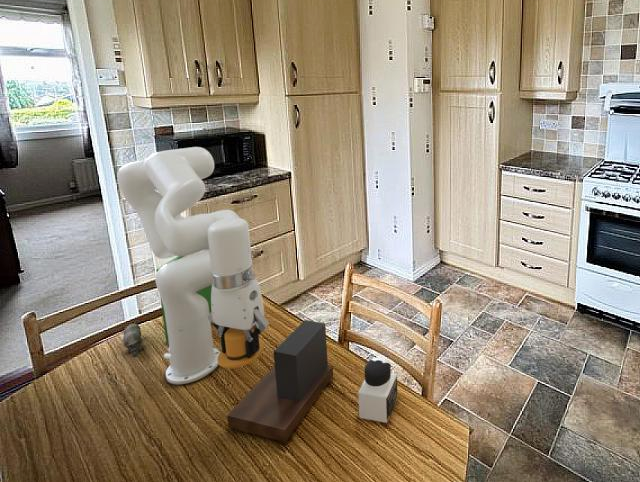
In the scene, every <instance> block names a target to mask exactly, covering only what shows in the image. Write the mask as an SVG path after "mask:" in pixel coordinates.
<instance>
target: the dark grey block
mask: <svg viewBox="0 0 640 482" xmlns="http://www.w3.org/2000/svg"><path fill="white" fill-rule="evenodd" d="M327 345H328V344H327V331H326V323H324V322H319V321H314V320H307V319H304V320H303V321H302V322H301V323H300V324H299V325H298V326H297V327H296V328H295V329H294V330H293V331H292V332H291V333H290V334H289V335H288V336H287V337H286V338H285V339H284V340H283V341H282V342H281V343H280V344H279V345H278V346H277V347H276V348H275V349H274V350H273V361H274V362H273V363H274V365H275V375H276V387H277V397H282V398H286V399H290V400H295V401H300V400H301V399H302V397H303V396H304V395H305V393H306V392H307V391H308V390H309V388H310V387H311V386H312V384H313V383H314V382H315V380H316V379H317V378H318V376H319V375H320V374H321V373H322V371H323V370H324V369H325V367H326V366H327V365H329V364H328V363H329V362H328V361H329V360H328V348H327V347H328V346H327Z"/></svg>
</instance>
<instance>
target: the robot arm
mask: <svg viewBox="0 0 640 482" xmlns="http://www.w3.org/2000/svg"><path fill="white" fill-rule="evenodd" d="M214 170H215V160H214V157H213V156H212V154H211V152H210V151H208V150H207V149H206V148H205V147H201V146H192V147H184V148H176V149H167V150H162V151H157V152H155V153H152V154H151V155H149V157H147V158H146V159H142V160H141V159H140V160H136V161H133V162H129V163H127V164H125V165H123V166H121V167H120V168H119V169H118V171H117V176H116V178H117V179H116V180H117V184H118V188H119V190H120V193H121V194H122V196H123V198H124V199H125V200H126V202H127V203H128V204H129V205H130V207H131V208H132V209H133V210H134V211H135V212H136V214H137V215H138V217H139V219H140V222H141V225H142V227H143V231H144V234H145V236H146V238H147V239H146V240H147V242H148V244H149V246H150V249H151V251H152V253H153V254H154V256H155V257H156V258H158V259H160V260H161V259H163V260H164V259H170V258H175V257H177V256H187V255H190V254H193V253H196V252H199V251H202V250H205V251H203V252H199V253H196V254H193V255H190V256H187V257H184V258H180V259H177V260H175V261H172V262H170V263H168V264H166V263H165V264H166V265H164V264H163V265H164V266H163V265H162V266H163V267H161V266H160V267H161V268H160V269H159V270H158V272H157V271H156V273H155V277H154V278H155V279H154V280H155V284H156V285H155V286H156V288H157V291H158V293H159V298H160V297H161V299H162V303H163V307H164V312H165V319H166V325H167V333H168V340H169V344H168V346H169V347H168V349H167V352H166V353H164V355H163V359H165V360H168V361H169V366H168V367H167V368H166V371H165V378H166V381H167V382H168V383H170V384H172V385H185V384H190V383H193V382H196V381H198V380H201V379H203V378H205V377H206V376H208V375H209V374H211V373H212V372H213V371H214V370H216V368H217V367H218V366H220V365H219V364H218V355H219V354H220V352H221V351H222V353H226V345H225V336H224V335H225V332H226V331H227V330H228V329H230V328H236V329H242V330H244V333H245V335H246V338H247V341H246V342H245V345H246V355H247V358H251V357H252V356H253V355H254V354H255V353H256V352H257V351H258V350H259V349H260V346H259V339H260V336H259V335H261V334H262V332H264V331H265V330H266V329H267V328H268V327H269V326H270V322H269V320H268V319H266V317H265V307H264V300H263V295H262V291H261V287H260V283H259V282H258V279H257V278H256V277H257V275H256V273H254V269H253V261H252V260H253V258H252V248H251V247H252V246H251V238H250V227H249V223H248V221H247V220H246V219H244V218H241V217H240V216H239V215H238V214H237V212H235V211H234V210H232V209H220V210H217V211H213V212H209V213H199V214H198V213H197V214H193V215H190V216H187V217H186V216H185V217H184V216H183V215H182V213H184V212H185V211H187V210H188V209H190V208H191V207H193V206H194V205H196V204H197V203H198V202H199V201H200V200H201V199H202V198H203V197H204V195H205V193H206V184H205V183H204V181H203V179H206V178H208V177H210V176H211V175H212V174H213V173H214ZM156 190H157V191H156ZM210 285H212V290H211V310H212V312H211V313H209V305H208V302H207V300H206V299H205V298H204V297H203V296H201V295H199V294H197V293H196V292H197V291H199V290H201V289H203V288H205V287H208V286H210ZM161 299H160V300H161ZM210 321H211V322H212V324H211V322H210ZM212 325H213V327H214V328H215V330H216V331H217V336H218V337H220V346H221V351H220V350H219V349H218V348H216V347H214V339H213V331H212ZM252 327H253V330H254V332H253V333H251V330H250V329H251V328H252Z"/></svg>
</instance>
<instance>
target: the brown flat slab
mask: <svg viewBox="0 0 640 482" xmlns="http://www.w3.org/2000/svg"><path fill="white" fill-rule="evenodd" d="M333 377H334V366H333V365H332V364H328V365H327V366H326V367H325V369H324V370H323V371H322V373H321V374H320V375H319V376H318V378H317V379H316V380H315V382H314V383H313V384H312V386H311V387H310V388H309V390H308V391H307V392H306V393H305V395H304V396H303V397H302V399H301V400H300V401H295V400H290V399H286V398H282V397H277V387H276V375H275V364H274V365H273V366H272V367H271V369H269V370H268V372H266V373H265V375H264V376H262V378H261V379H260V380H259V381H258V382H257V383H256V384H255V385H254V386H253V387H252V388H251V389H250V391H248V393H246V395H245V396H244V397H243V398H242V399H241V400H240V401H239V402H238V403H237V404H236V405H235V406H234V407H233V408H232V410H230V412H229V413H228V414H227V415H226V417H227V425H228V428H232V430H234V431H235V430H236V431H239V432H242V433H247V434H249V435H254V436H257V437H262V438H265V439H269V440H273V441H277V442H280V443H284V444H286V443H287V442H288V441H289V439H290V438H291V437H292V434H293V433H294V431H295V430H296V428H297V427H298V426H299V424H300V423H301V421H302V420H303V419H304V417H305V416H306V415H307V413H308V412H309V410H310V409H311V408H312V406H313V405H314V403H315V402H316V401H317V399H318V398H319V396H320V395H321V394H322V392H323V391H324V389H325V388H326V387H327V386H328V385H329V383H331V381H332V379H333Z"/></svg>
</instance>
